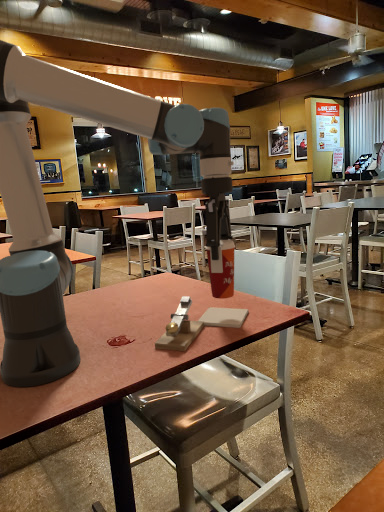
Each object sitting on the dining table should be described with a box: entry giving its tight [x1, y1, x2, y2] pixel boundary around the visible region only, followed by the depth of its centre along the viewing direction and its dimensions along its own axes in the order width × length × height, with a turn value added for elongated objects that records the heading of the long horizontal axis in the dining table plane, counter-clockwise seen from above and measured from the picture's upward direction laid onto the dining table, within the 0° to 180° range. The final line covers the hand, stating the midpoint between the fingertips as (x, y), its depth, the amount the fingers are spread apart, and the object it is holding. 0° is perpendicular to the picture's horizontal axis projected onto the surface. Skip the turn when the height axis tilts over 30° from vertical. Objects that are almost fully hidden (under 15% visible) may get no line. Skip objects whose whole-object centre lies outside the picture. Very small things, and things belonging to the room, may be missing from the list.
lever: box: [165, 295, 193, 337], centre depth 84 cm, size 12×4×2 cm, turn 160°
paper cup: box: [204, 239, 236, 300], centre depth 93 cm, size 8×8×14 cm
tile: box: [197, 306, 249, 329], centre depth 95 cm, size 11×11×1 cm
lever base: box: [154, 319, 205, 352], centre depth 85 cm, size 14×7×4 cm, turn 161°
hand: (221, 268), depth 93 cm, fingers closed on paper cup, 8 cm apart
